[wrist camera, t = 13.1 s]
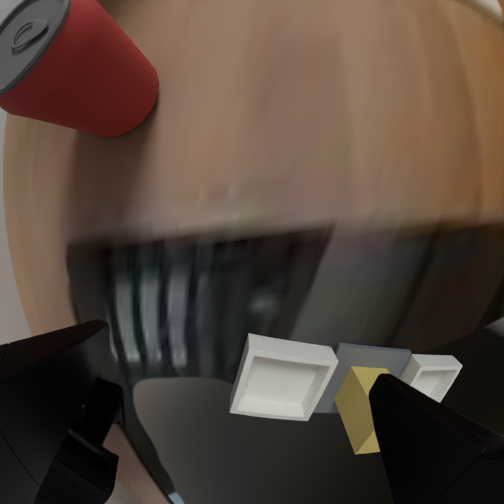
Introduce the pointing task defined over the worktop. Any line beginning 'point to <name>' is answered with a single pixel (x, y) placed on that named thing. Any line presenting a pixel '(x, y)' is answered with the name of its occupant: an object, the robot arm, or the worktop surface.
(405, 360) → the slate coaster
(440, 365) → the white square tray
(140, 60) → the beer can
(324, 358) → the shallow white dish
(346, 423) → the tan carton
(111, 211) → the worktop surface
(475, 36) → the worktop surface
